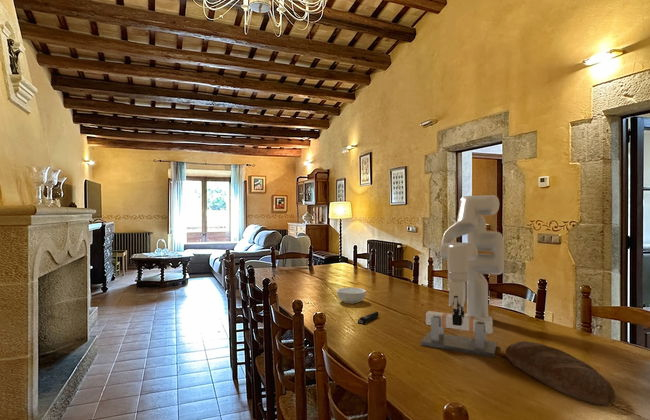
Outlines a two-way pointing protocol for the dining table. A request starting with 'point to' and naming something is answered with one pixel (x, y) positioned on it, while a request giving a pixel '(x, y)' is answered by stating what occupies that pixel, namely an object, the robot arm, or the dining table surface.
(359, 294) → the cereal bowl
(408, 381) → the dining table surface
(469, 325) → the white and orange bar
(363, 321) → the electric trimmer
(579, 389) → the bread
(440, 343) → the grey stand
